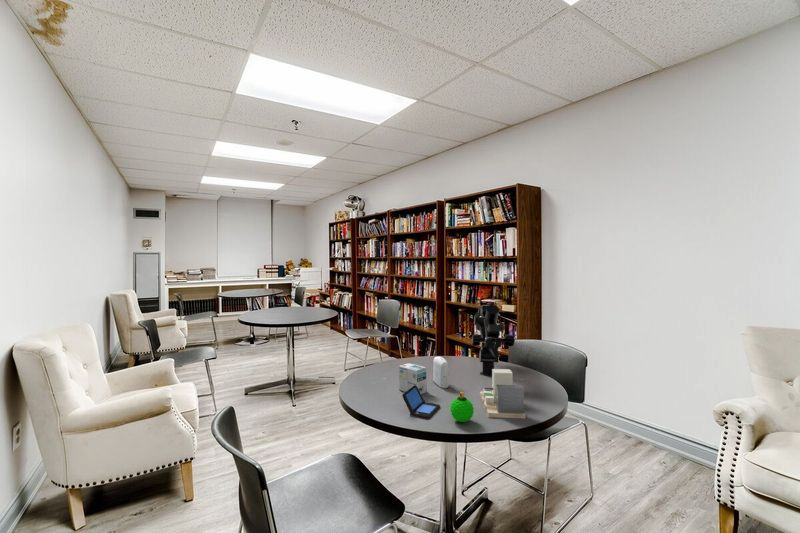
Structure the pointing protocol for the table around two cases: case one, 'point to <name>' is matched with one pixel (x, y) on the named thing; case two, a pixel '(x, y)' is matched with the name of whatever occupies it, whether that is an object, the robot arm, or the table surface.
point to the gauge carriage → (500, 379)
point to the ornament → (462, 408)
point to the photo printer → (441, 372)
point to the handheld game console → (418, 404)
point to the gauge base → (491, 406)
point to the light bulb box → (412, 377)
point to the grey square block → (510, 398)
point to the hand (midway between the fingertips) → (495, 356)
